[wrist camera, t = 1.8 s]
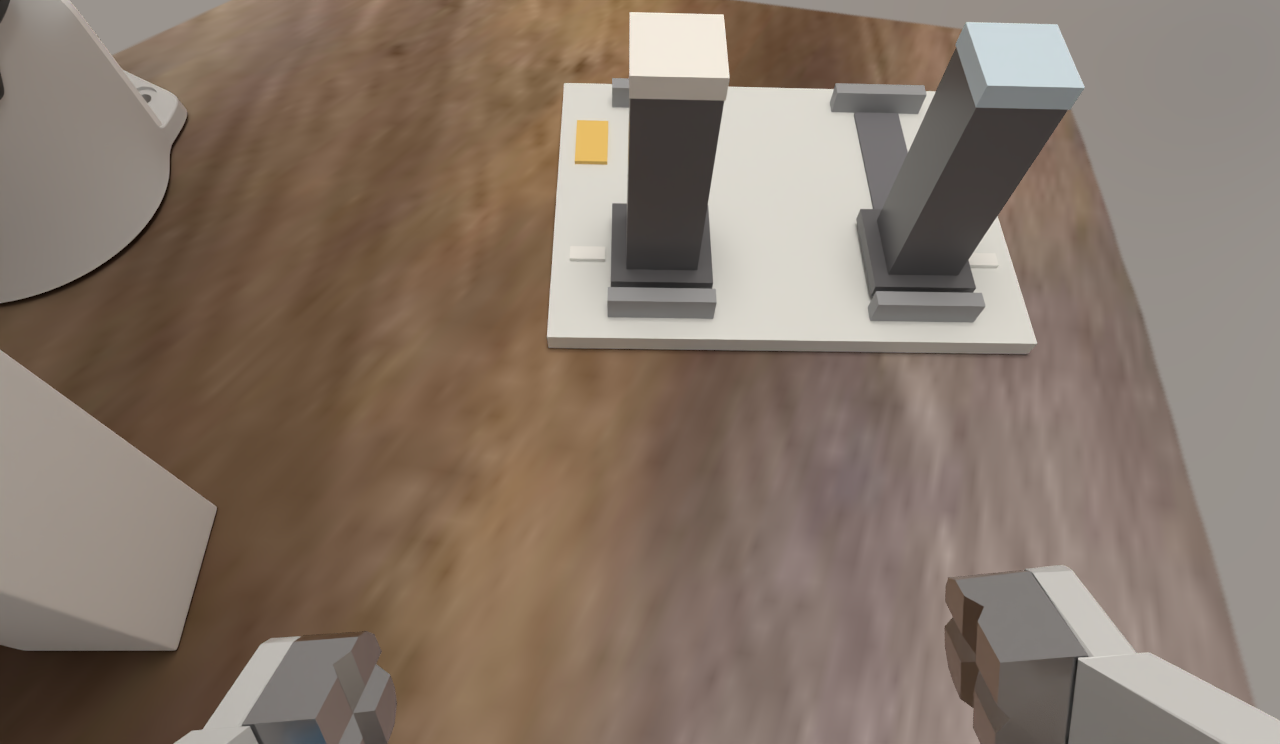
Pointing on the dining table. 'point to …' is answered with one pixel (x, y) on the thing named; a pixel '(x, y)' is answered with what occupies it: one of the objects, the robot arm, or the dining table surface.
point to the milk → (89, 530)
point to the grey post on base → (670, 150)
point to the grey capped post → (968, 155)
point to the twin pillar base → (769, 234)
